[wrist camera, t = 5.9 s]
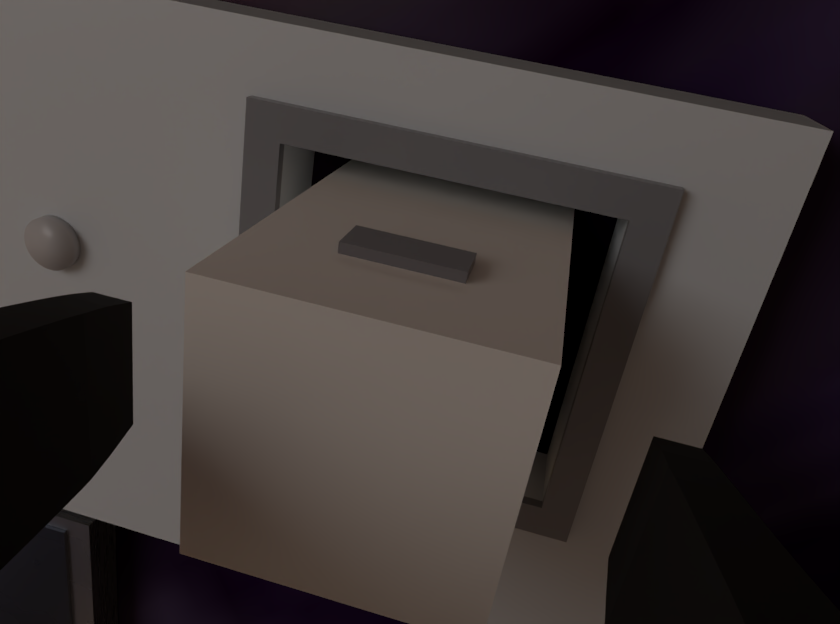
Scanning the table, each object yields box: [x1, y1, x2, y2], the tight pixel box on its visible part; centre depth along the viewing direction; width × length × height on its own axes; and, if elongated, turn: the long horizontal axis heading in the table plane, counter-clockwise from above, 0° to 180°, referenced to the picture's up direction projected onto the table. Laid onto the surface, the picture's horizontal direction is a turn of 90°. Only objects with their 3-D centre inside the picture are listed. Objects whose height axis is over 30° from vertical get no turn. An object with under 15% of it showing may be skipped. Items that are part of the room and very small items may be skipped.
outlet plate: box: [0, 0, 834, 624], centre depth 14 cm, size 11×16×2 cm
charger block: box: [180, 159, 575, 624], centre depth 11 cm, size 4×4×6 cm
